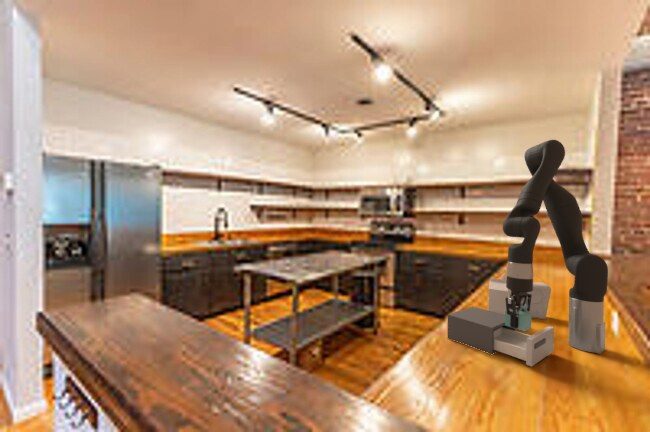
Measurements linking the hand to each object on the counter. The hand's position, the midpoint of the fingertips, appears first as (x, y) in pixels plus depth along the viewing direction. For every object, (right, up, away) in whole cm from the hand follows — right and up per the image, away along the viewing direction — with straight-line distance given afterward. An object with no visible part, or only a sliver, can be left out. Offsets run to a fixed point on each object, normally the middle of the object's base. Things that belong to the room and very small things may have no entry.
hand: (518, 325), depth 100 cm
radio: (+27, -10, +39) cm, 49 cm away
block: (0, 0, 0) cm, 0 cm away
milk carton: (+10, -10, +28) cm, 32 cm away
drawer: (0, -8, 0) cm, 8 cm away
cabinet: (-7, -9, +10) cm, 15 cm away
